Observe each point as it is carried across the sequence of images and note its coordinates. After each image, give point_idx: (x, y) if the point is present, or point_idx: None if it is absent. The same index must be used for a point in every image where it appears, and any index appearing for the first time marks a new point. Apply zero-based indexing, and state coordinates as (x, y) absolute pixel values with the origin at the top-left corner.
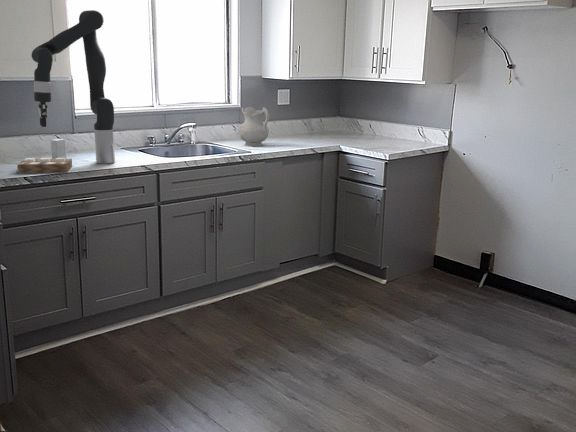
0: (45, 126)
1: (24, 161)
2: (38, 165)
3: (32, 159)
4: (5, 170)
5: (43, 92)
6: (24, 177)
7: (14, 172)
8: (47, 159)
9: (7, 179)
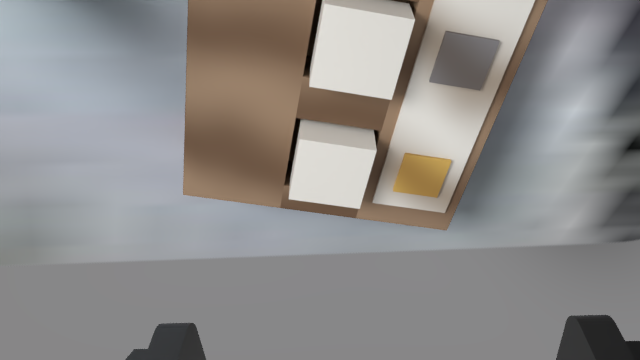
0: (604, 323)
1: None
2: (503, 93)
3: (374, 155)
4: (302, 250)
5: None
6: (623, 151)
7: None
8: (409, 30)
9: (630, 230)
